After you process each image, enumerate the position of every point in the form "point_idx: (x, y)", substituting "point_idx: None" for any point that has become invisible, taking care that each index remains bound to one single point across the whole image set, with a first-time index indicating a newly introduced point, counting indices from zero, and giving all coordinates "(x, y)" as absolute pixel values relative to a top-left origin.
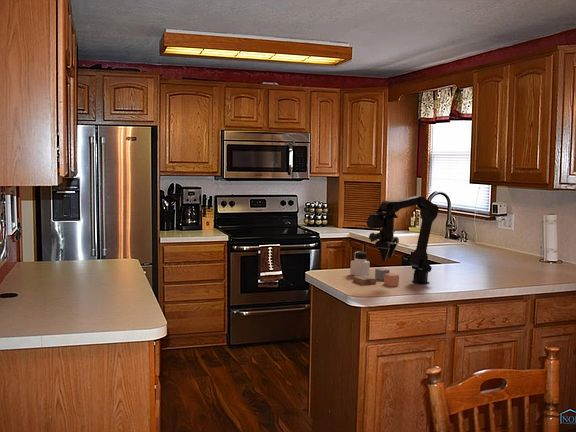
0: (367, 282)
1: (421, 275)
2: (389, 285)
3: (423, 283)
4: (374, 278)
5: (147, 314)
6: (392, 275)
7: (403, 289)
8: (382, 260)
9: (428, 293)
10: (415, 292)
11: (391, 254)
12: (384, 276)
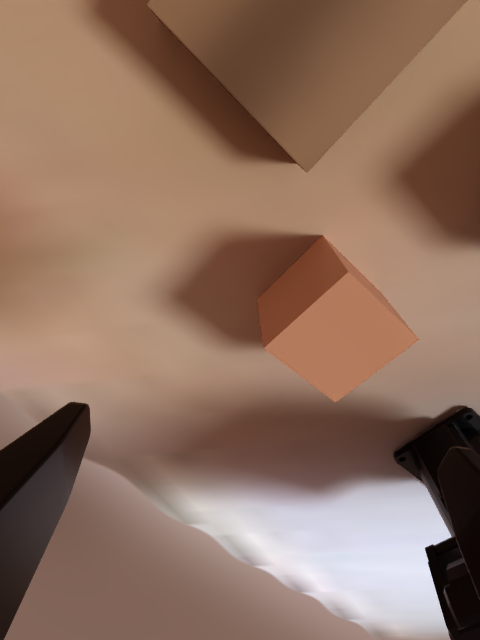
0: (209, 71)
1: (439, 507)
2: (267, 290)
3: (408, 470)
4: (293, 149)
5: None
6: (293, 356)
7: (185, 391)
8: (57, 414)
9: (161, 502)
10: (141, 454)
11: (470, 561)
12: (338, 263)
